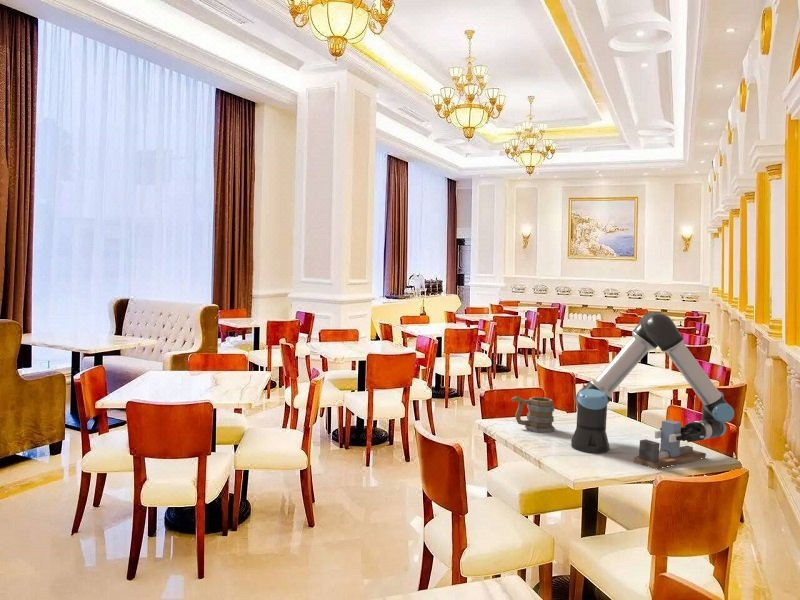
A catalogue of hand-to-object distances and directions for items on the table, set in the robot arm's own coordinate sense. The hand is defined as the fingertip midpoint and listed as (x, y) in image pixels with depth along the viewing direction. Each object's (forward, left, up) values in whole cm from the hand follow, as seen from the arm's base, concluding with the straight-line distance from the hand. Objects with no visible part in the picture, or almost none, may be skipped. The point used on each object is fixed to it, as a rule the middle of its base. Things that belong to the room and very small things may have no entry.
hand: (662, 436), depth 237 cm
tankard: (-60, -9, -10) cm, 62 cm away
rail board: (0, +6, -10) cm, 12 cm away
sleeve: (0, +5, -8) cm, 9 cm away
